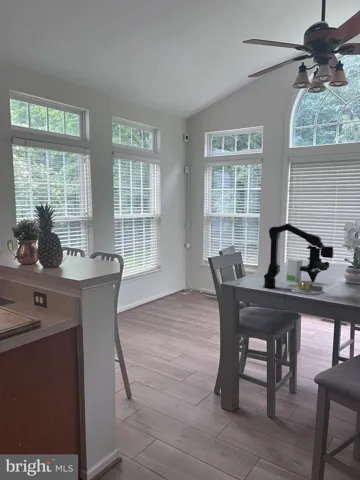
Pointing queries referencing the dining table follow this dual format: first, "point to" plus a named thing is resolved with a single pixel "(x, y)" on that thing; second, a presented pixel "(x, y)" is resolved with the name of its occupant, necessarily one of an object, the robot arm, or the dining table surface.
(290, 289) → the clear glass plate
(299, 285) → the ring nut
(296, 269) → the skincare box
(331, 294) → the dining table surface
